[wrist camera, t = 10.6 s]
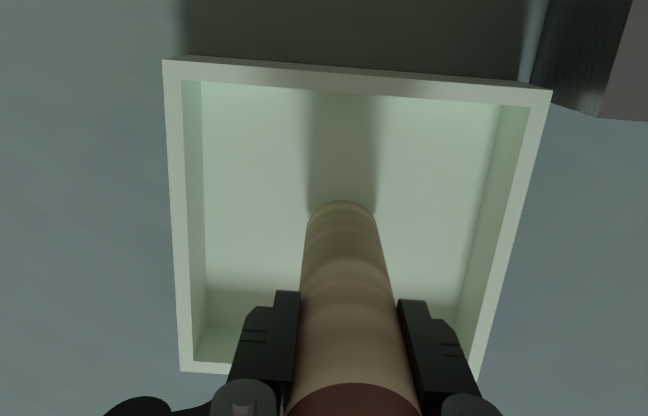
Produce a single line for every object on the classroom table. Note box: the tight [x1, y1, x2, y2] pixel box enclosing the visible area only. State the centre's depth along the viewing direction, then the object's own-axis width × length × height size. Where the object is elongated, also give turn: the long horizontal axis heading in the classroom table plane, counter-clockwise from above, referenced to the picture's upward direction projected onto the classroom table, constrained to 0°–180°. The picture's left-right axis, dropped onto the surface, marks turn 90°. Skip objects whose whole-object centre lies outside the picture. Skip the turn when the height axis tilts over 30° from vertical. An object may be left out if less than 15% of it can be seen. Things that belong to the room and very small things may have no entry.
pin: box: [284, 200, 422, 416], centre depth 13 cm, size 3×3×12 cm
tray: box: [162, 55, 553, 384], centre depth 18 cm, size 13×13×3 cm
